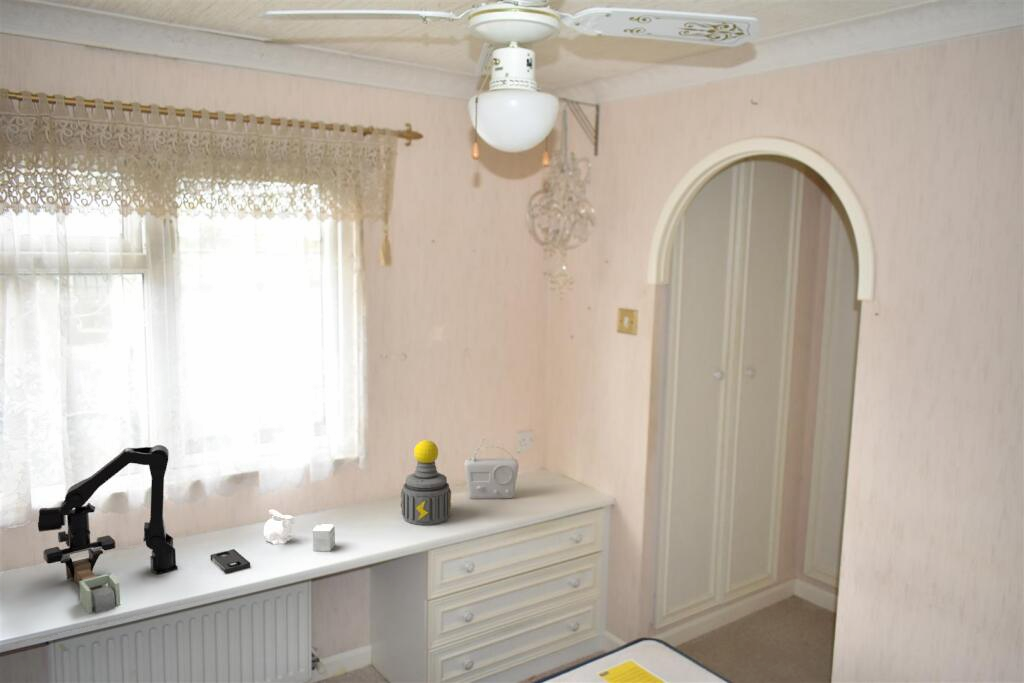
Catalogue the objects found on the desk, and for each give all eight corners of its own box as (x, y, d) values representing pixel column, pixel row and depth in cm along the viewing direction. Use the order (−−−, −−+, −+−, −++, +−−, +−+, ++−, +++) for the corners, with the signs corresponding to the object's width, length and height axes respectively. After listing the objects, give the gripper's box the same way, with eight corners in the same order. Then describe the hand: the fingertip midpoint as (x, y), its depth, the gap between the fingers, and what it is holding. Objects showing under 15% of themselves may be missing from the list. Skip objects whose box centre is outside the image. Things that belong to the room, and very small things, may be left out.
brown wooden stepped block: (66, 578, 242) (65, 563, 242) (91, 572, 247) (90, 557, 246) (81, 599, 229) (80, 583, 228) (108, 592, 234) (107, 576, 233)
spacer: (109, 585, 228) (114, 591, 224) (110, 602, 229) (115, 608, 225) (90, 590, 225) (94, 596, 221) (91, 607, 226) (96, 613, 222)
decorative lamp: (405, 507, 310) (405, 433, 306) (453, 509, 309) (454, 434, 305) (396, 525, 291) (396, 446, 287) (447, 527, 291) (448, 447, 287)
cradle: (109, 591, 235) (107, 570, 235) (120, 604, 227) (119, 582, 226) (77, 599, 230) (76, 577, 229) (88, 613, 222) (86, 591, 221)
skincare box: (330, 551, 267) (329, 531, 266) (312, 551, 267) (312, 530, 266) (335, 544, 273) (334, 524, 272) (317, 544, 273) (317, 523, 272)
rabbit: (298, 540, 276) (297, 507, 275) (278, 549, 268) (277, 515, 266) (272, 533, 282) (272, 501, 280) (252, 542, 274) (251, 509, 272)
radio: (464, 500, 319) (465, 440, 316) (464, 494, 327) (464, 435, 324) (518, 500, 321) (519, 440, 318) (516, 493, 329) (517, 435, 326)
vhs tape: (210, 560, 259) (210, 554, 259) (234, 554, 264) (233, 548, 264) (225, 575, 249) (225, 569, 248) (250, 568, 254) (250, 562, 253)
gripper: (104, 512, 252) (107, 559, 254) (37, 526, 240) (41, 575, 242) (114, 522, 244) (117, 570, 246) (46, 537, 232) (49, 587, 234)
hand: (81, 575), depth 242 cm, fingers closed on brown wooden stepped block, 4 cm apart
